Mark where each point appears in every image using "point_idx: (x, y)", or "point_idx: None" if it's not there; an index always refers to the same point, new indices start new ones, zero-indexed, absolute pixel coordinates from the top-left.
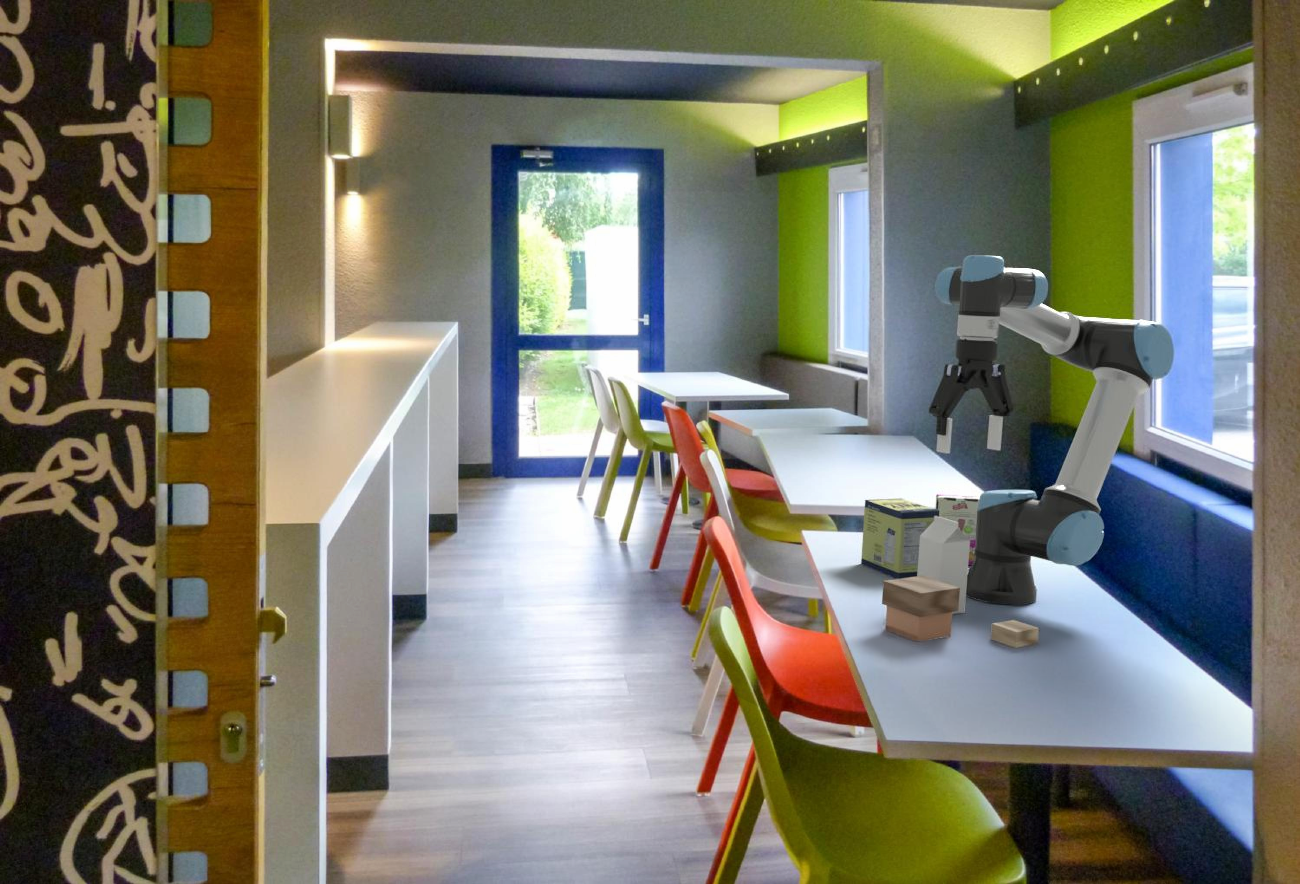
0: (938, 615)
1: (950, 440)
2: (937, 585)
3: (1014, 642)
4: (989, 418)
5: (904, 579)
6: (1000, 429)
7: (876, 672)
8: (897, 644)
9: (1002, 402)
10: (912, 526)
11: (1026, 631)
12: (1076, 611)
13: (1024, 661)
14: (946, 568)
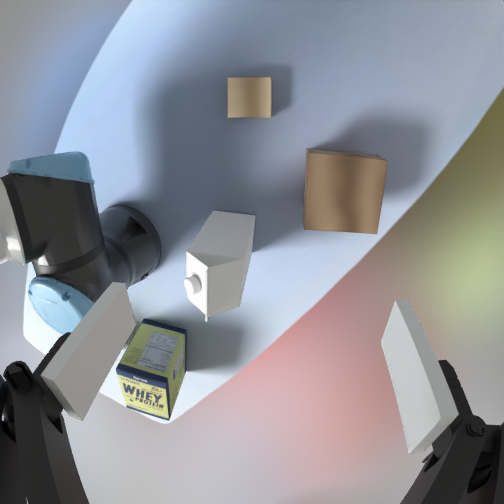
0: None
1: (414, 334)
2: (330, 178)
3: (271, 81)
4: (88, 409)
5: (345, 225)
6: (78, 335)
7: (469, 116)
8: (389, 160)
9: (9, 433)
10: (156, 366)
11: (252, 77)
12: (90, 164)
13: (306, 42)
14: (239, 238)
